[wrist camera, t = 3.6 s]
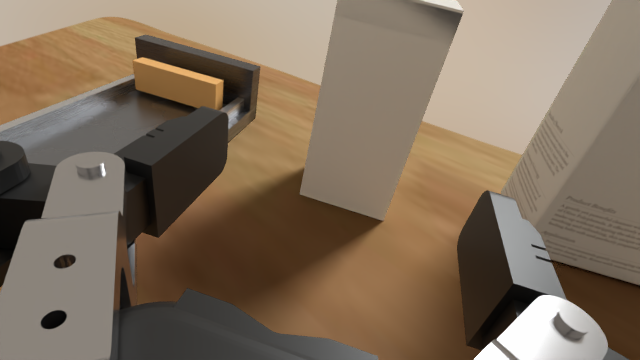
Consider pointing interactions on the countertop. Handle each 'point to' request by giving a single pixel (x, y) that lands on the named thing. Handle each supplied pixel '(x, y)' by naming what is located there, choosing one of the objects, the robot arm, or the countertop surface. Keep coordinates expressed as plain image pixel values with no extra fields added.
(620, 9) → the skincare box
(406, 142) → the block
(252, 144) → the countertop surface
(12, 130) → the dark grey open tray
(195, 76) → the orange rectangular bar
